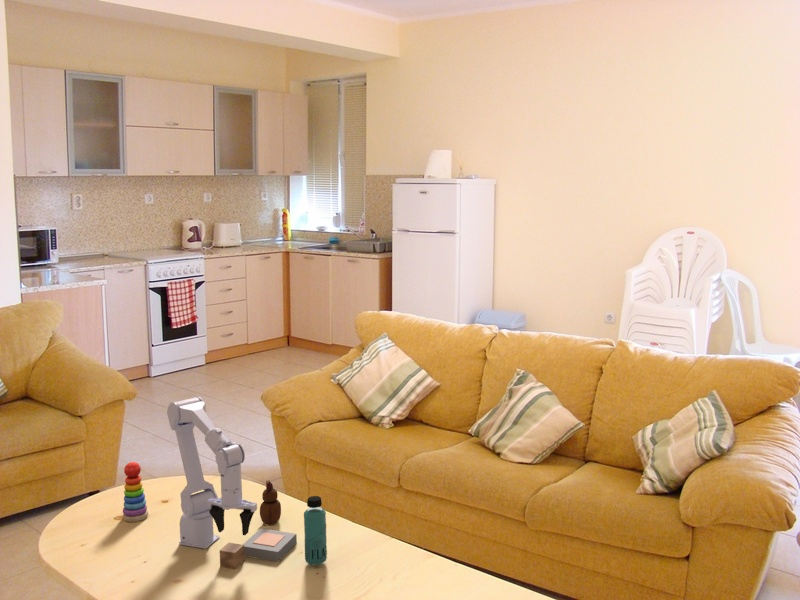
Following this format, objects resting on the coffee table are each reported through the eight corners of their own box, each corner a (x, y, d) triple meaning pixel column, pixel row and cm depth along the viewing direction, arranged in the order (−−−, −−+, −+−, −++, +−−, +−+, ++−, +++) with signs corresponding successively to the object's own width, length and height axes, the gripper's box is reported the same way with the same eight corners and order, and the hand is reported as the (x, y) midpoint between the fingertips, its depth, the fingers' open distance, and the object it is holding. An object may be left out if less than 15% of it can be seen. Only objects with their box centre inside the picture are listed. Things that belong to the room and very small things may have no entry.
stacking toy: (153, 516, 251) (150, 461, 248) (133, 525, 244) (130, 469, 241) (137, 510, 255) (134, 456, 252) (117, 519, 248) (113, 464, 245)
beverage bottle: (309, 572, 214) (307, 504, 211) (301, 561, 220) (299, 495, 217) (331, 566, 217) (329, 499, 214) (322, 556, 223) (320, 491, 220)
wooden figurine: (269, 529, 241) (267, 483, 238) (256, 524, 244) (255, 479, 242) (284, 521, 246) (283, 477, 244) (272, 516, 250) (270, 473, 247)
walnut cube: (220, 566, 218) (219, 550, 217) (229, 558, 222) (228, 542, 222) (235, 569, 216) (235, 552, 215) (244, 561, 221) (244, 544, 220)
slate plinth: (241, 555, 224) (240, 545, 223) (261, 537, 235) (260, 527, 235) (278, 561, 220) (277, 551, 220) (296, 543, 231) (296, 533, 231)
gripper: (201, 489, 214) (203, 535, 216) (248, 495, 210) (250, 541, 212) (213, 480, 221) (215, 524, 223) (259, 485, 217) (261, 530, 219)
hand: (233, 532), depth 218 cm, fingers open, 7 cm apart
